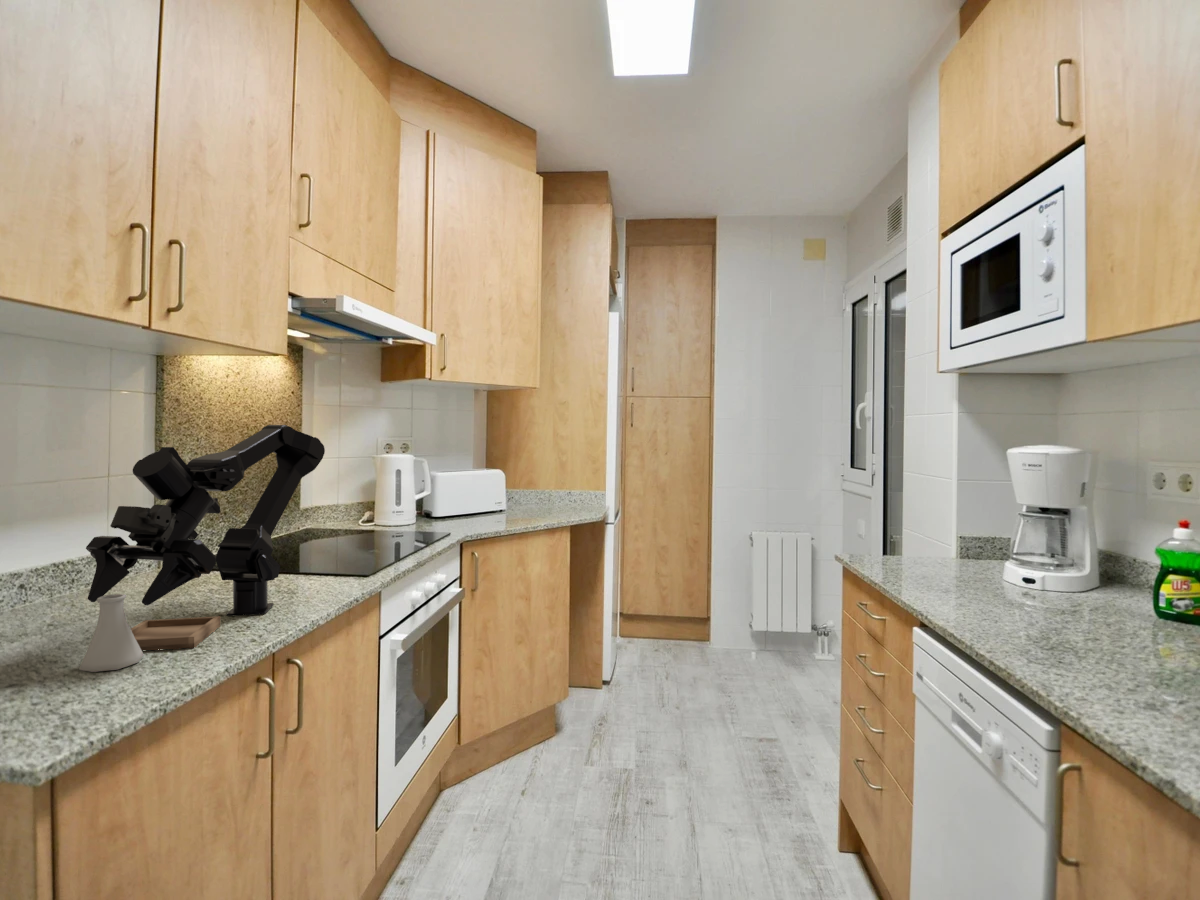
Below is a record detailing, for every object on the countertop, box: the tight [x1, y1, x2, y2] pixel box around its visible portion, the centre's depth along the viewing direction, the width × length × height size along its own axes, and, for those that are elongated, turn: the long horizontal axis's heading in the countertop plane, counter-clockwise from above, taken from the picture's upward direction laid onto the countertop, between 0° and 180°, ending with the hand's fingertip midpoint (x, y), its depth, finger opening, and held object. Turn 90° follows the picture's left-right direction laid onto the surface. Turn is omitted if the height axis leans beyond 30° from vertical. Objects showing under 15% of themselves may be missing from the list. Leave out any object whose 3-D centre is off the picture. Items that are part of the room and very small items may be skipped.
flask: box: [78, 593, 145, 673], centre depth 92 cm, size 7×7×10 cm
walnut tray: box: [130, 615, 222, 651], centre depth 103 cm, size 12×12×2 cm
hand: (117, 602), depth 93 cm, fingers open, 9 cm apart
